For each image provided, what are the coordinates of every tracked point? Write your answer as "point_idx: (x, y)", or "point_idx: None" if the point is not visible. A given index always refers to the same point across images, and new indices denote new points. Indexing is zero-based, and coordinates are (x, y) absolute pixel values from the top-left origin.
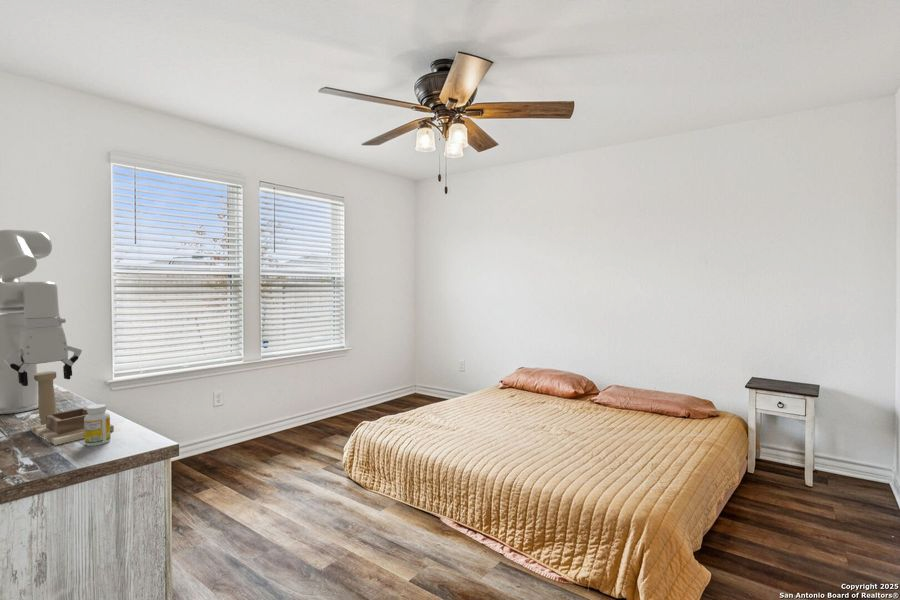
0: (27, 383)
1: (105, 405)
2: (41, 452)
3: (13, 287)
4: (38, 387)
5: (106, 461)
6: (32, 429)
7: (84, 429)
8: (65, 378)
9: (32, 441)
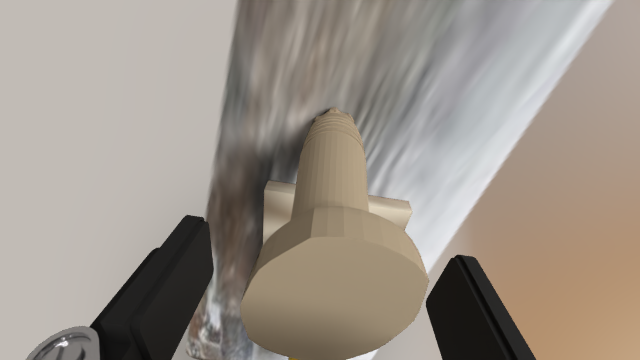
0: (205, 285)
1: None
2: (238, 304)
3: None
4: (292, 211)
5: None
6: (266, 187)
7: (289, 358)
8: (440, 279)
9: (246, 245)
